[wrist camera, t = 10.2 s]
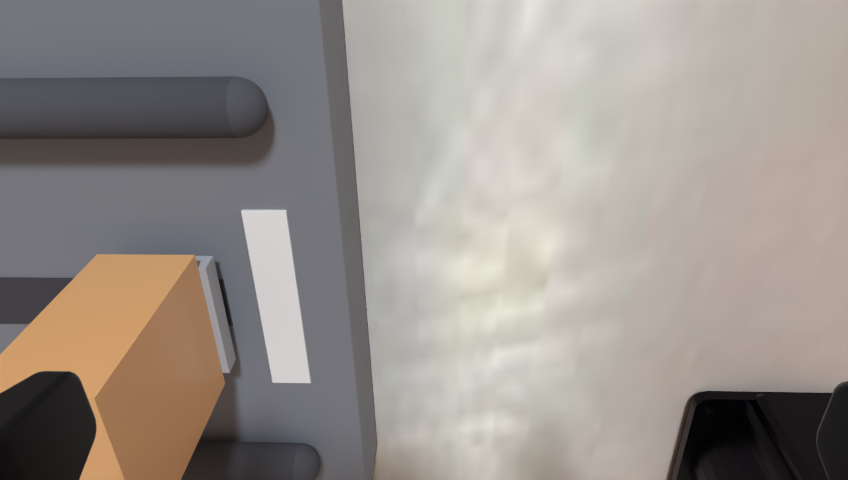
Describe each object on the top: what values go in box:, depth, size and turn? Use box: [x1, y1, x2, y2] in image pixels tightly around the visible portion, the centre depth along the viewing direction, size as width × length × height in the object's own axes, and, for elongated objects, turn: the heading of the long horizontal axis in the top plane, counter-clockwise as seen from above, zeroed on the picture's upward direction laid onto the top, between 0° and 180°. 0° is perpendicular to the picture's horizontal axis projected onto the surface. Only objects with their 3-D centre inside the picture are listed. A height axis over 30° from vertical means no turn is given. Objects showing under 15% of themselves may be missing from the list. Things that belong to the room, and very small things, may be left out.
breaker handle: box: [0, 254, 236, 480], centre depth 15 cm, size 4×3×6 cm
